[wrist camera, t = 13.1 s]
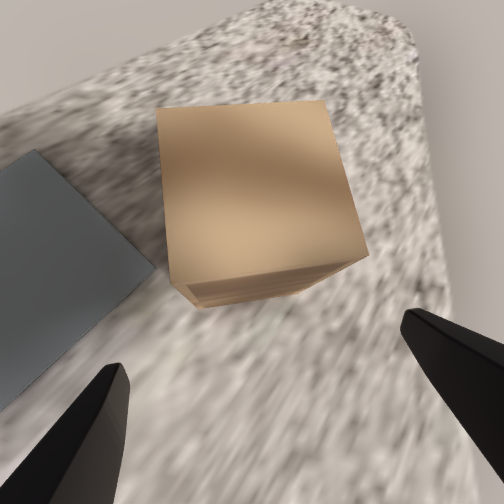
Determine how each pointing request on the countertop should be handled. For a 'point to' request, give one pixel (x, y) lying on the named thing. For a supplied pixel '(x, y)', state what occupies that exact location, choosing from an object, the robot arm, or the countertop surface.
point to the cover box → (254, 201)
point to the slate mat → (53, 270)
